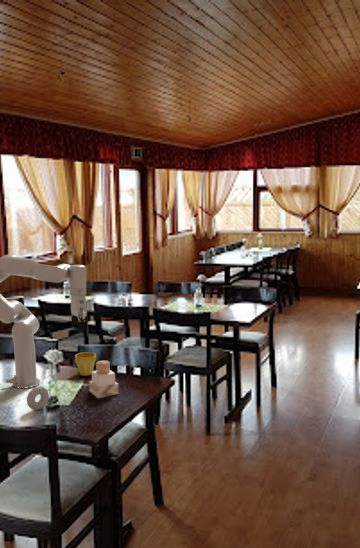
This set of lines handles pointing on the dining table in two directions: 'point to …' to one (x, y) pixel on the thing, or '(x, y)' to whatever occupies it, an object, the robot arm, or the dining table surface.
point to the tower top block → (103, 378)
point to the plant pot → (85, 362)
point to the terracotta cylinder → (103, 367)
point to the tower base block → (103, 390)
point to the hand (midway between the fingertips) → (78, 327)
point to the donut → (32, 396)
